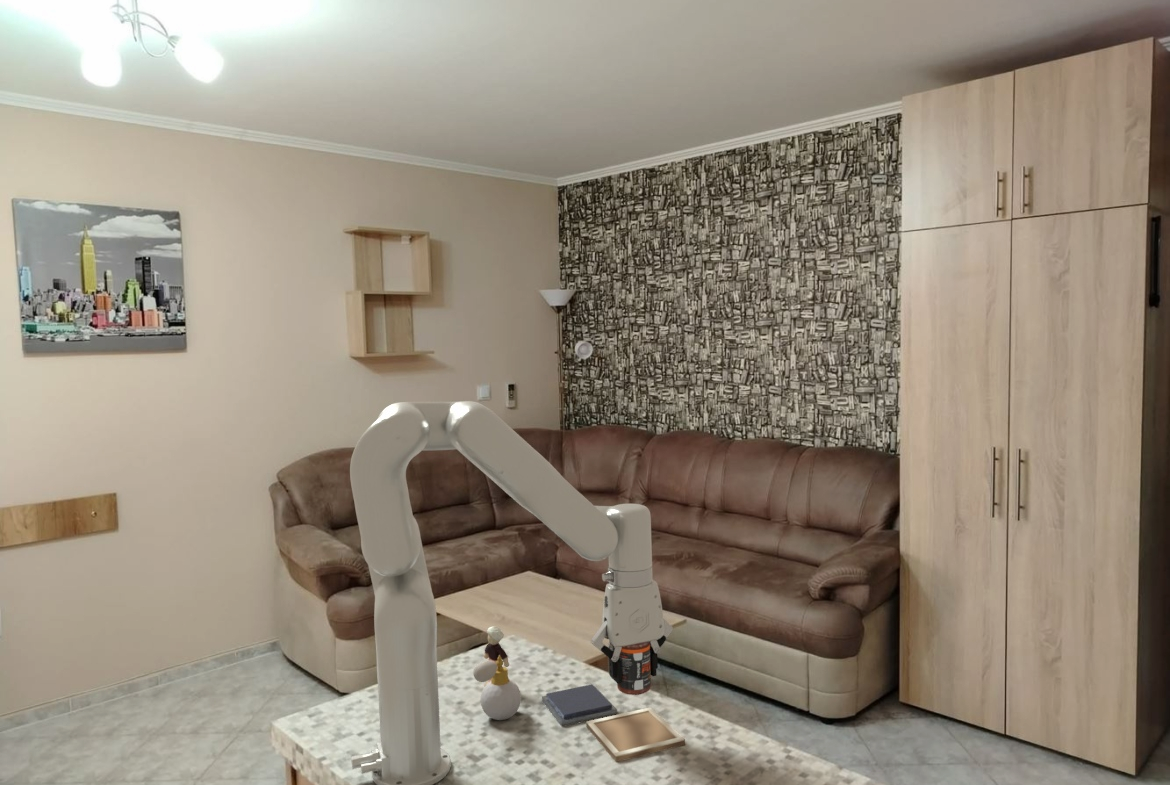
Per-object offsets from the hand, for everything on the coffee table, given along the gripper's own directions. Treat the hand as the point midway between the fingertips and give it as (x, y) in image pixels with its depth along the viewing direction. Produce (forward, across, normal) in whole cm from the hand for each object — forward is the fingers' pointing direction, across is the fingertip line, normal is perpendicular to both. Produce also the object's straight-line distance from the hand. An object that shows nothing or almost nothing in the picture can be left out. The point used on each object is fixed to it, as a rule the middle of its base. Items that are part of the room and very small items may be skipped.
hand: (633, 675), depth 137 cm
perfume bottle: (+11, -20, +16) cm, 28 cm away
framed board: (+11, 0, 0) cm, 11 cm away
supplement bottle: (+3, 0, 0) cm, 3 cm away
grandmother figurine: (+11, -17, +29) cm, 35 cm away
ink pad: (+11, -5, +14) cm, 18 cm away
